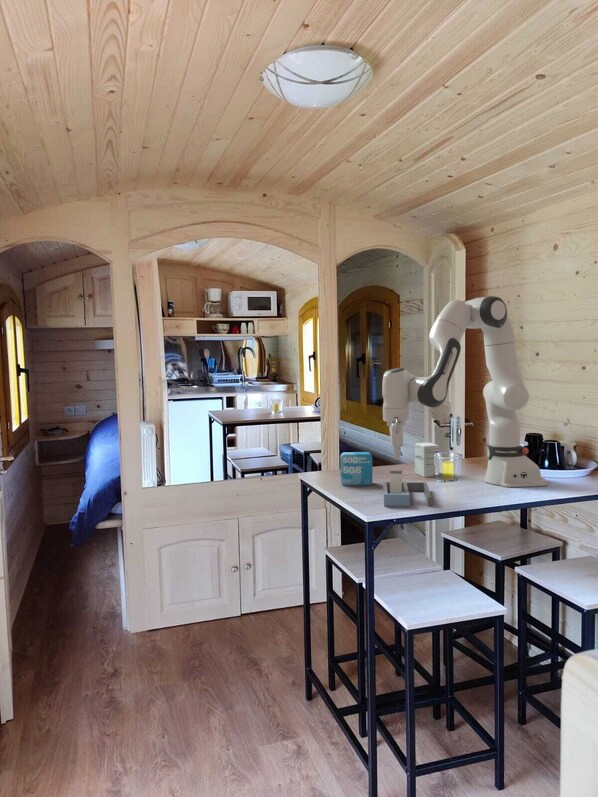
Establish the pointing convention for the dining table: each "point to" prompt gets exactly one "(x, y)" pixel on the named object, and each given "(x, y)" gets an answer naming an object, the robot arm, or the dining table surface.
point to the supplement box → (425, 458)
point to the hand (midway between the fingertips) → (396, 455)
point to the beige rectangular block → (395, 481)
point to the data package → (356, 468)
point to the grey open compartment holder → (405, 494)
